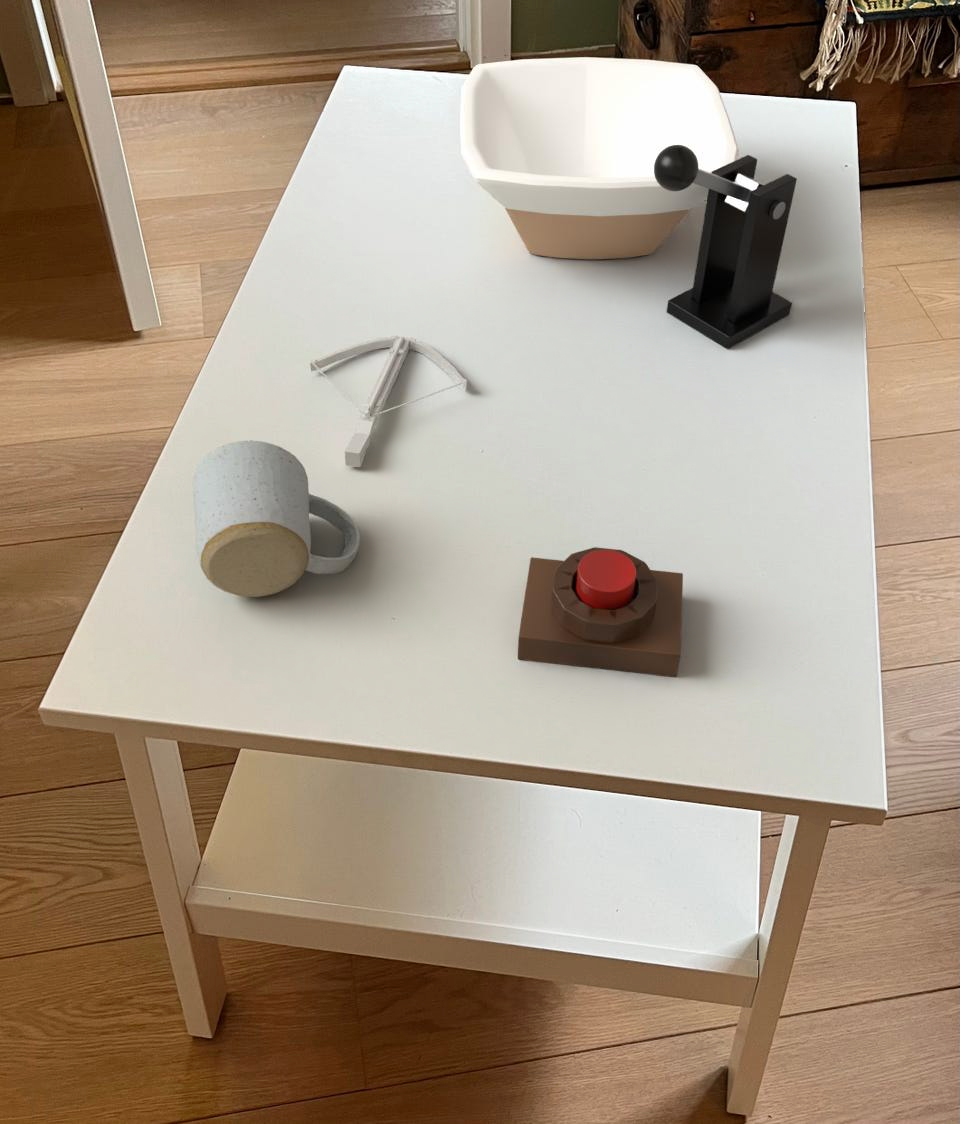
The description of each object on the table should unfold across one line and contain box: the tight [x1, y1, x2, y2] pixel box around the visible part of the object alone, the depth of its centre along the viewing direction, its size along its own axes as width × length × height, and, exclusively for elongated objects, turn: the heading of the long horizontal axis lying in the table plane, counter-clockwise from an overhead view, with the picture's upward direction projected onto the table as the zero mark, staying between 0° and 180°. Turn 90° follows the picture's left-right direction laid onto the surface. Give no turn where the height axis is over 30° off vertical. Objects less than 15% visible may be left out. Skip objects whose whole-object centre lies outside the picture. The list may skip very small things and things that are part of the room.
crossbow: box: [309, 335, 468, 468], centre depth 92 cm, size 16×13×2 cm
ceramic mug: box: [192, 440, 361, 598], centre depth 78 cm, size 11×8×8 cm
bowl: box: [459, 56, 740, 260], centre depth 108 cm, size 24×25×11 cm
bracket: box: [666, 154, 798, 350], centre depth 97 cm, size 8×7×13 cm
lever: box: [654, 145, 766, 213], centre depth 89 cm, size 14×3×3 cm, turn 130°
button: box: [576, 550, 636, 610], centre depth 74 cm, size 4×4×2 cm
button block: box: [517, 546, 684, 678], centre depth 75 cm, size 10×7×4 cm
